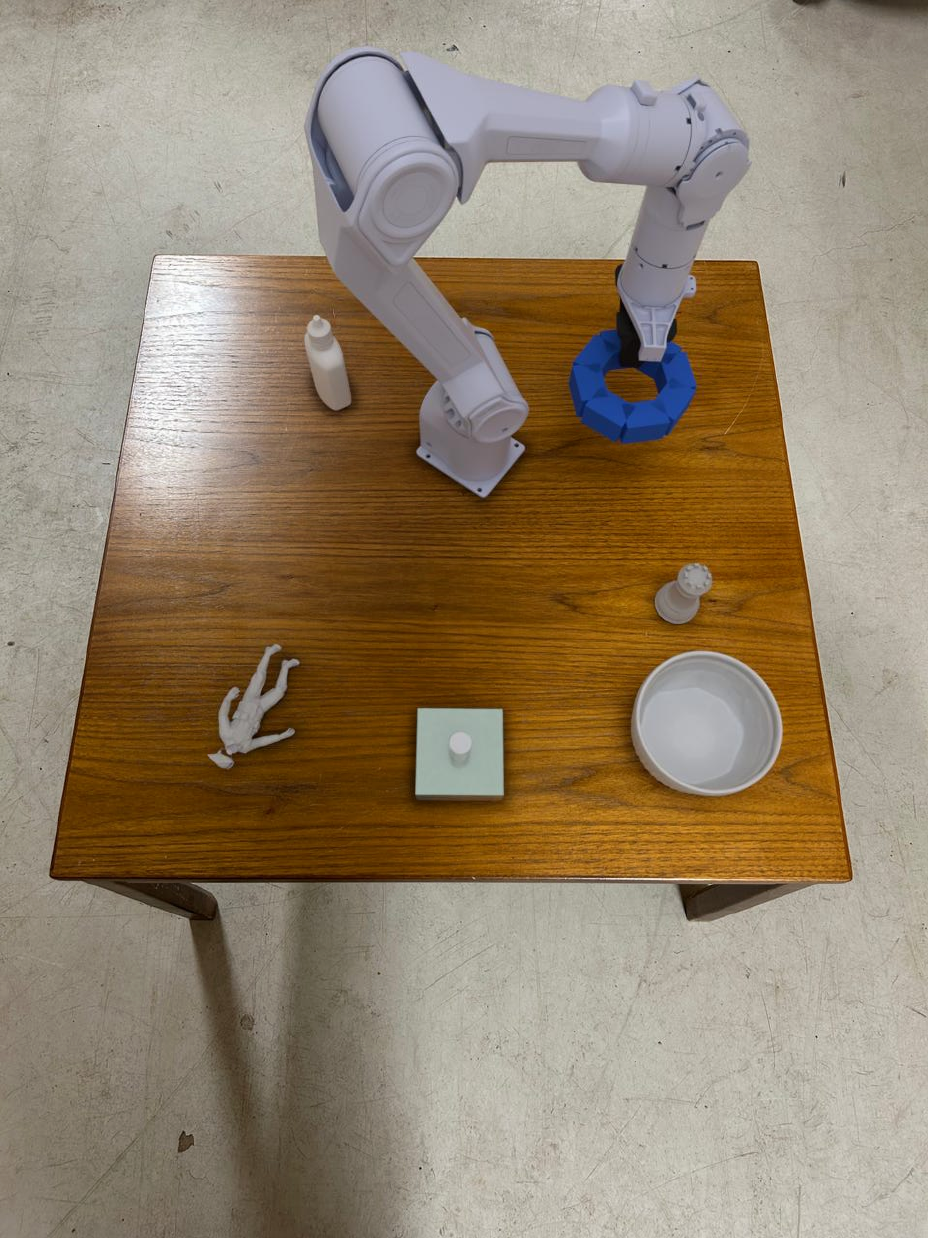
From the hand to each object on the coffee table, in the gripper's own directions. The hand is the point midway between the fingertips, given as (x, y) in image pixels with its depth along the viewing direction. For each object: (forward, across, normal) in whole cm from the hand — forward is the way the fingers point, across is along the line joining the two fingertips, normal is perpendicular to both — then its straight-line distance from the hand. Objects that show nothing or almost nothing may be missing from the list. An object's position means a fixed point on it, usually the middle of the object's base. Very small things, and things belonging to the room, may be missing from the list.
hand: (629, 348), depth 79 cm
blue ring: (+1, -4, 0) cm, 5 cm away
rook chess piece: (+11, -24, -6) cm, 27 cm away
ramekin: (+11, -37, -7) cm, 39 cm away
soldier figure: (+11, -37, +35) cm, 52 cm away
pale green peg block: (+10, -41, +15) cm, 45 cm away
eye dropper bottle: (+11, 0, +32) cm, 33 cm away
